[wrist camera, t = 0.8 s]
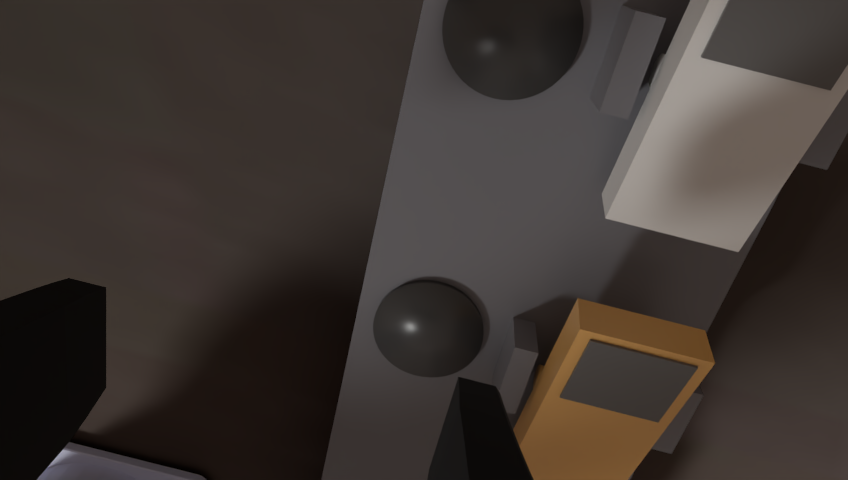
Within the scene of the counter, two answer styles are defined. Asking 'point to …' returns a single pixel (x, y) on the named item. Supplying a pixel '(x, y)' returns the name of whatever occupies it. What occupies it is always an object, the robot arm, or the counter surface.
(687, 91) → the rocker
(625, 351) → the rocker middle
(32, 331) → the robot arm
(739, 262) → the power strip
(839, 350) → the counter surface
